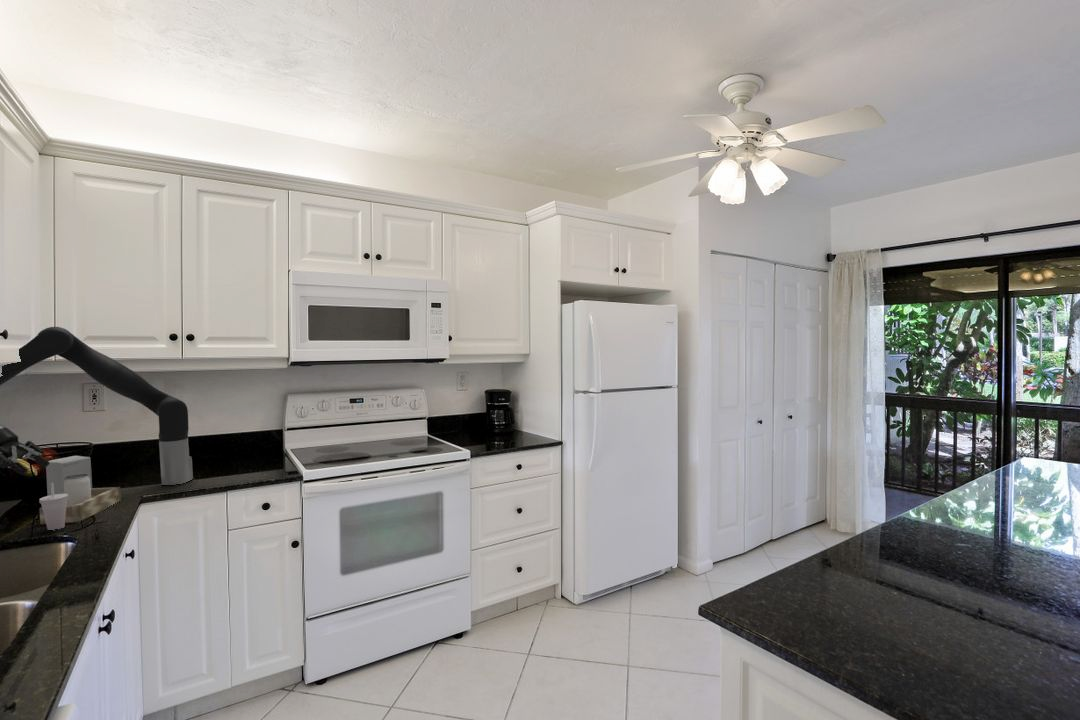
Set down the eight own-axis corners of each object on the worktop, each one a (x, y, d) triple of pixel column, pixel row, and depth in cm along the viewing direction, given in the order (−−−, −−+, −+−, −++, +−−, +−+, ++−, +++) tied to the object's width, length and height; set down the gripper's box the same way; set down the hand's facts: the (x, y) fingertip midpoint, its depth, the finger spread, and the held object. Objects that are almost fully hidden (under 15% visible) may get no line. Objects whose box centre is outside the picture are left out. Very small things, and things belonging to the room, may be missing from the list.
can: (76, 516, 165) (73, 479, 164) (60, 515, 166) (57, 478, 166) (97, 509, 172) (94, 474, 171) (81, 508, 173) (79, 473, 172)
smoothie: (37, 533, 151) (33, 487, 150) (47, 526, 157) (44, 481, 156) (65, 530, 153) (61, 484, 153) (74, 522, 159) (71, 478, 159)
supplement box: (63, 506, 175) (60, 463, 174) (47, 503, 178) (44, 461, 177) (94, 498, 184) (91, 456, 183) (78, 495, 187) (75, 455, 186)
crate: (87, 502, 178) (86, 488, 178) (121, 501, 180) (120, 486, 179) (40, 524, 159) (39, 508, 158) (78, 522, 160) (77, 506, 160)
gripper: (-19, 431, 157) (26, 466, 160) (21, 423, 172) (62, 455, 174) (-37, 449, 157) (8, 484, 159) (4, 439, 171) (45, 471, 173)
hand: (36, 469), depth 167 cm, fingers open, 8 cm apart
